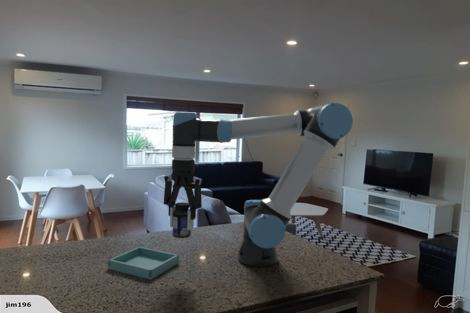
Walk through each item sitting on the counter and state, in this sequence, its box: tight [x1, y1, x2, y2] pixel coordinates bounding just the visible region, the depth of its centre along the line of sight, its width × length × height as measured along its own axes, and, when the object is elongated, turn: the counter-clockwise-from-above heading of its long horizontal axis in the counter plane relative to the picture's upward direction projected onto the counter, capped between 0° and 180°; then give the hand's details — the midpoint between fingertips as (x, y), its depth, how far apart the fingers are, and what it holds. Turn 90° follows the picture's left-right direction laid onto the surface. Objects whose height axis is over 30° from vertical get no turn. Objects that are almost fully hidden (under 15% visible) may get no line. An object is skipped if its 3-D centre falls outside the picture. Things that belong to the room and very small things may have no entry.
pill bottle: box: [172, 201, 192, 239], centre depth 116 cm, size 6×6×11 cm
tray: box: [107, 246, 180, 281], centre depth 122 cm, size 18×16×3 cm
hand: (181, 227), depth 116 cm, fingers closed on pill bottle, 6 cm apart
